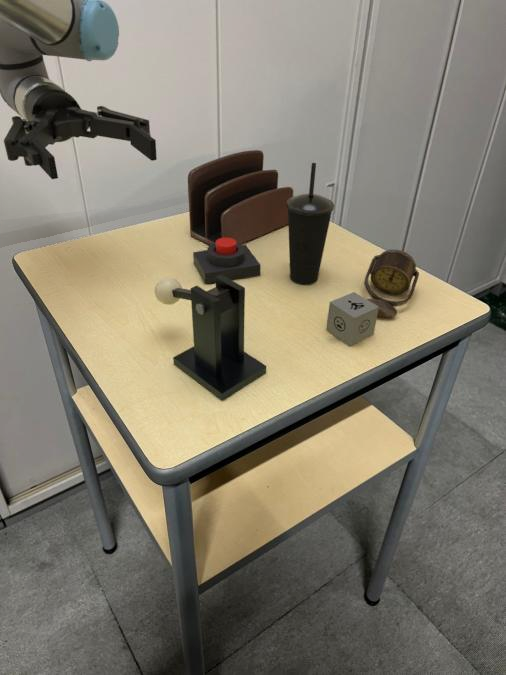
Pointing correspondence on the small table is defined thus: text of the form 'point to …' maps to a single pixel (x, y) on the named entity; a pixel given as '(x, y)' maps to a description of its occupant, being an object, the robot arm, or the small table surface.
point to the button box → (226, 264)
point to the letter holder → (236, 199)
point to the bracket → (219, 343)
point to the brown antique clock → (391, 279)
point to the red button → (225, 246)
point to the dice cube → (352, 318)
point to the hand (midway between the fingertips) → (106, 159)
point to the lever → (188, 293)
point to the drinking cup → (307, 233)
